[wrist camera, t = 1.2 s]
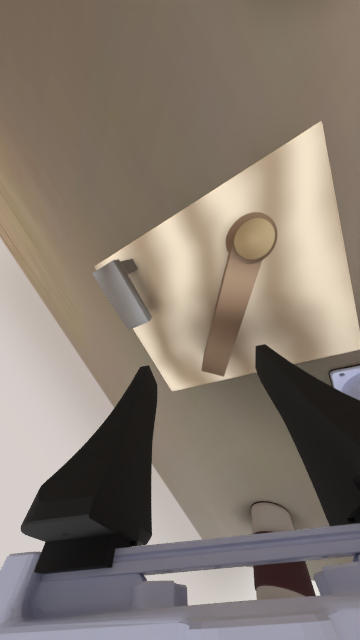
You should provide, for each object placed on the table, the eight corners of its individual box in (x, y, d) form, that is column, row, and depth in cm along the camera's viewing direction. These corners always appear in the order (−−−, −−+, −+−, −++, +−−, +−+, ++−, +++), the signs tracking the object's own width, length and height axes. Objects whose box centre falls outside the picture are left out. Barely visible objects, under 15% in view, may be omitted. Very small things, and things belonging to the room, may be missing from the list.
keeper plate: (313, 130, 13) (376, 55, 8) (354, 342, 19) (407, 382, 14) (100, 265, 21) (61, 273, 16) (173, 385, 27) (162, 420, 22)
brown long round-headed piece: (231, 214, 15) (233, 209, 13) (273, 220, 15) (285, 215, 12) (199, 354, 22) (196, 369, 19) (227, 361, 21) (228, 378, 19)
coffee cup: (254, 521, 39) (271, 667, 26) (236, 497, 36) (246, 645, 23) (303, 524, 35) (353, 696, 22) (287, 497, 33) (334, 673, 19)
